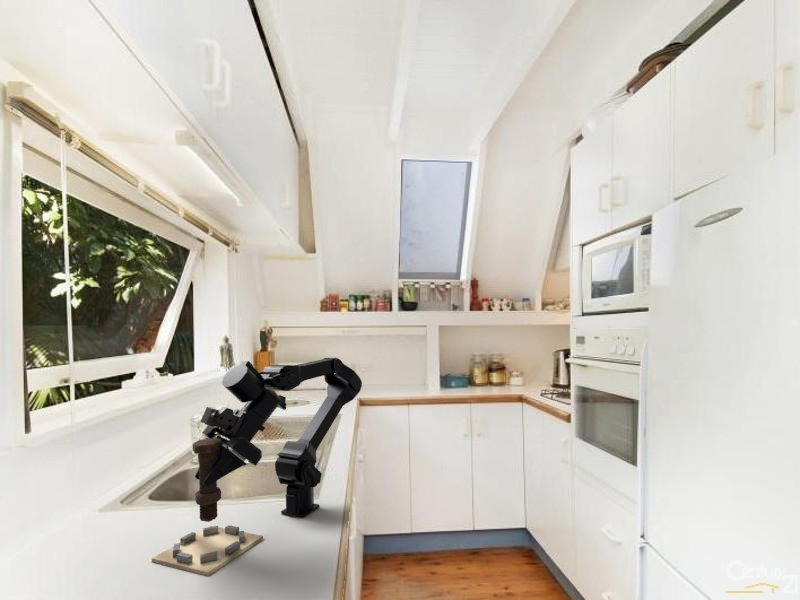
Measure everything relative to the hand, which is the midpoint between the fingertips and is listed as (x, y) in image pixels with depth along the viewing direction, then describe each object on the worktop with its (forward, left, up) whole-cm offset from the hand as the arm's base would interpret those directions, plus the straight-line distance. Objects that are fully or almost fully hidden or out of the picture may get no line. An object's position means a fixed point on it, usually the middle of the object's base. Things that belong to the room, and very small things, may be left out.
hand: (200, 481), depth 84 cm
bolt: (-1, +1, -8) cm, 8 cm away
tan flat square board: (-1, +1, -13) cm, 13 cm away
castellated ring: (-1, +1, -13) cm, 13 cm away
